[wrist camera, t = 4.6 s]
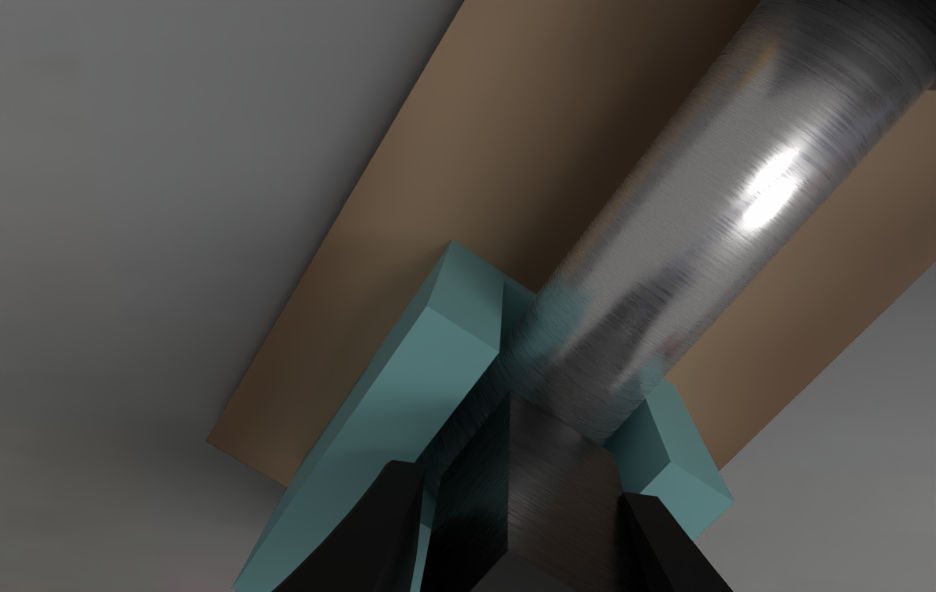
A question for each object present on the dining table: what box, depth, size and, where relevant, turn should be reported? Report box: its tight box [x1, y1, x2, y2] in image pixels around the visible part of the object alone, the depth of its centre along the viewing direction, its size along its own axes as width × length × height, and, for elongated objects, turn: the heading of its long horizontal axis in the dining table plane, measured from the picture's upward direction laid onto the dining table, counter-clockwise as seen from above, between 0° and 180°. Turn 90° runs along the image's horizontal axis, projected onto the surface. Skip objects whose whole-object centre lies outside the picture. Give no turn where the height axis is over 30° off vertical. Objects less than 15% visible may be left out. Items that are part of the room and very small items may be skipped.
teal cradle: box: [231, 240, 734, 592], centre depth 14 cm, size 7×8×4 cm
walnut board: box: [206, 0, 936, 488], centre depth 13 cm, size 12×31×1 cm, turn 147°
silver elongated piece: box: [419, 0, 936, 592], centre depth 9 cm, size 3×14×7 cm, turn 147°
